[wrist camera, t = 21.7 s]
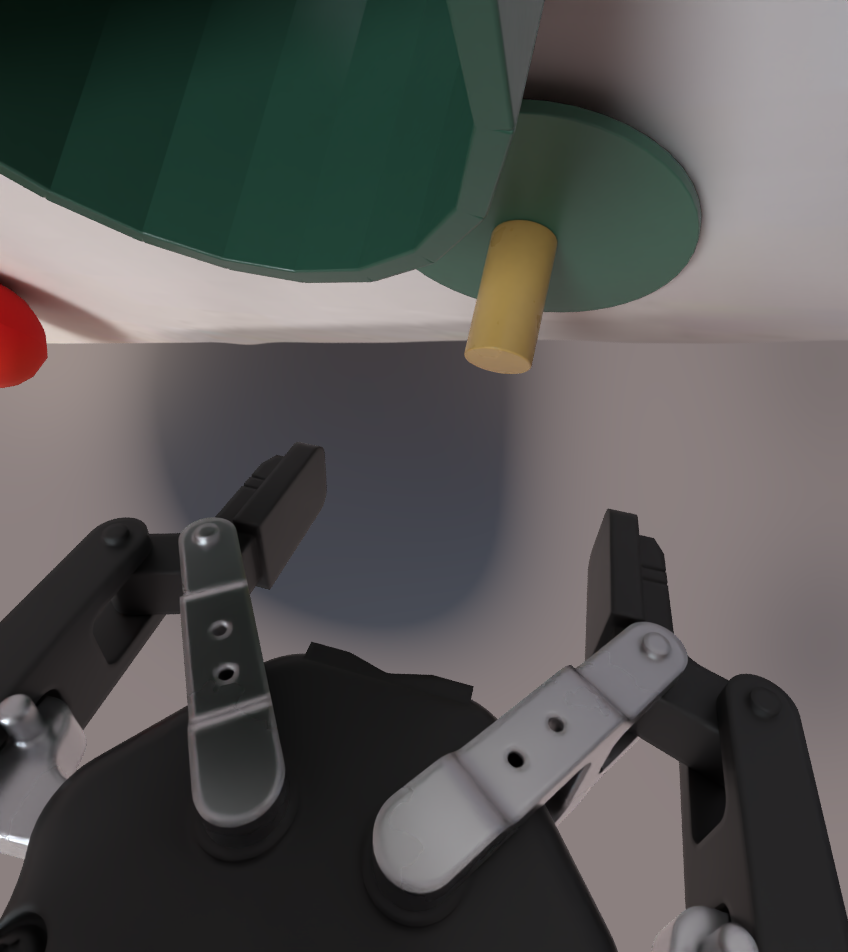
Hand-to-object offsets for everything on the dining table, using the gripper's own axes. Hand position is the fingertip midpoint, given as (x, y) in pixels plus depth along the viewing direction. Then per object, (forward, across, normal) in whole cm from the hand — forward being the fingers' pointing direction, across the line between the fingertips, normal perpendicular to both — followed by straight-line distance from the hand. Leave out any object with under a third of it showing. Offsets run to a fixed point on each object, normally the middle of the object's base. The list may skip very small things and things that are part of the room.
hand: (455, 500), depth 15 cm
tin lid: (+14, 0, -4) cm, 14 cm away
